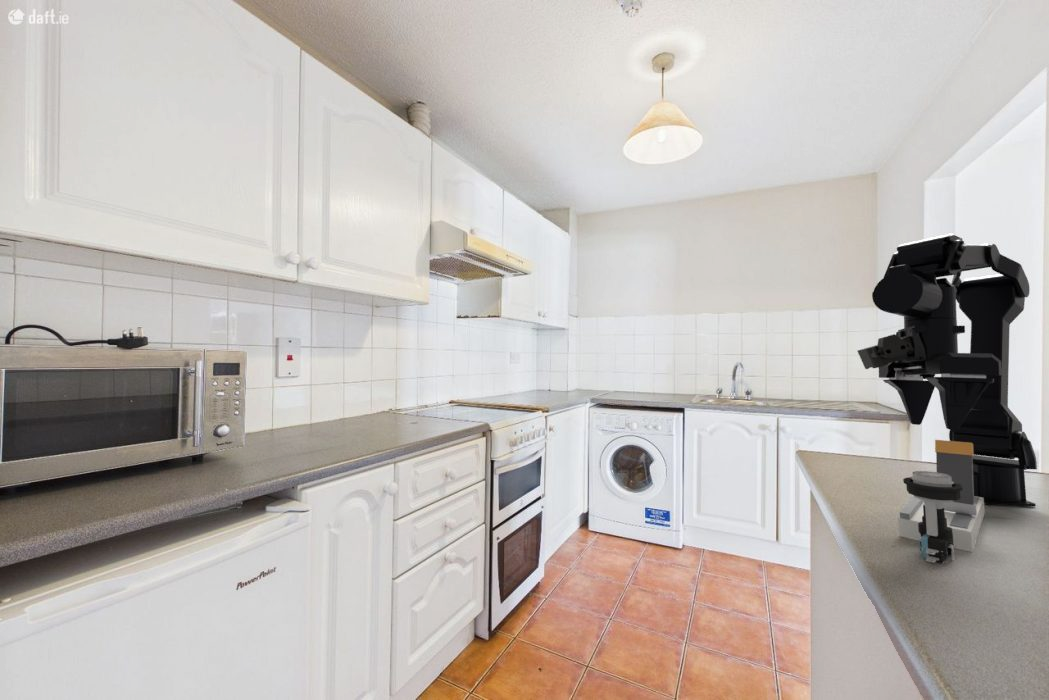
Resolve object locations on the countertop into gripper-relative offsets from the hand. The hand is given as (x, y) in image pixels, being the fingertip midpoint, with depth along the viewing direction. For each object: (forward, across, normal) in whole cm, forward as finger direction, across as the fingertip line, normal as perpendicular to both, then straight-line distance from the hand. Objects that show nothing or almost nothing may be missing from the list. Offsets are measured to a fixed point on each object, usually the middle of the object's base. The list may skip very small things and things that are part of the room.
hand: (932, 426), depth 62 cm
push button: (+16, +11, -5) cm, 20 cm away
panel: (+14, -2, +2) cm, 14 cm away
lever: (+11, +1, +2) cm, 11 cm away
